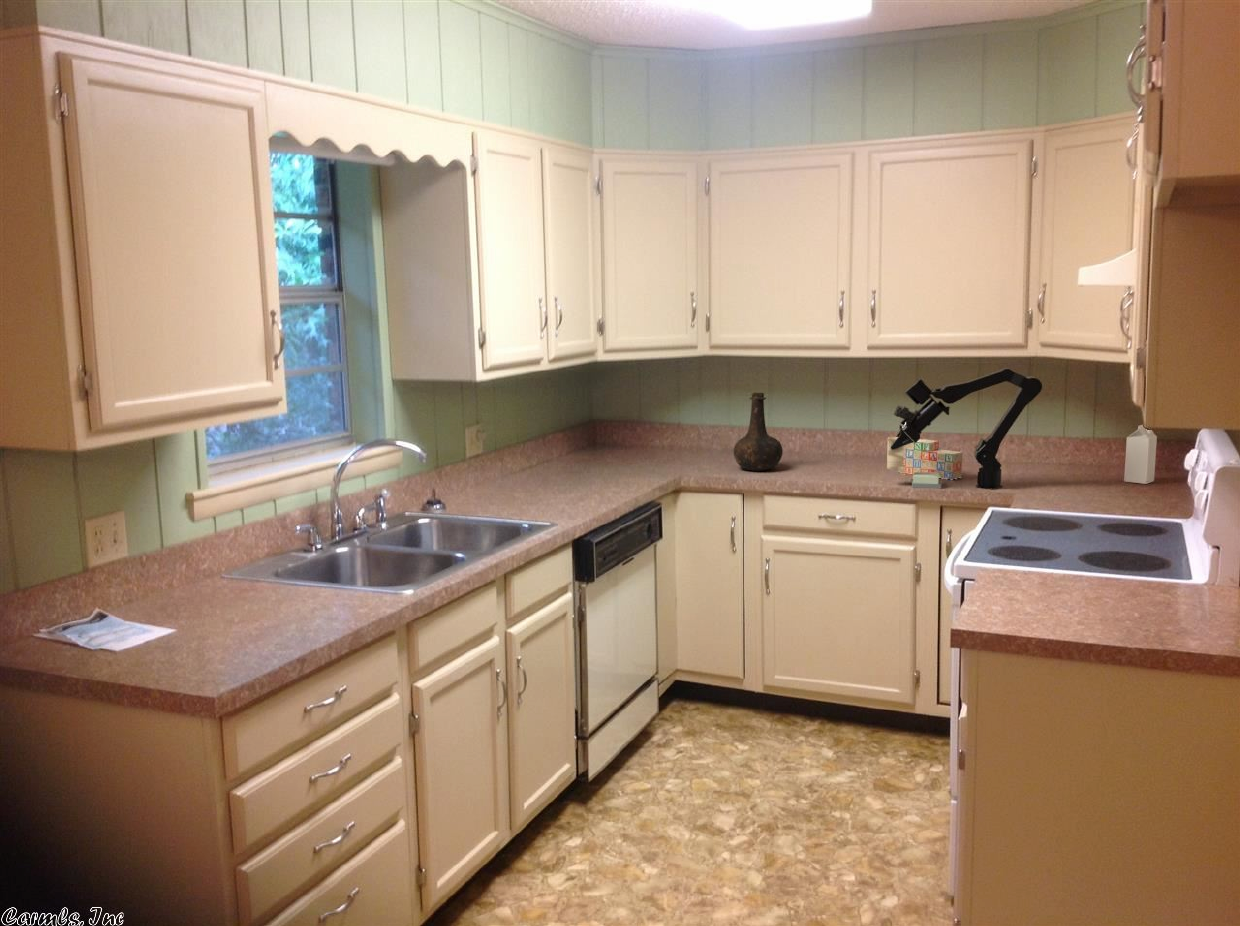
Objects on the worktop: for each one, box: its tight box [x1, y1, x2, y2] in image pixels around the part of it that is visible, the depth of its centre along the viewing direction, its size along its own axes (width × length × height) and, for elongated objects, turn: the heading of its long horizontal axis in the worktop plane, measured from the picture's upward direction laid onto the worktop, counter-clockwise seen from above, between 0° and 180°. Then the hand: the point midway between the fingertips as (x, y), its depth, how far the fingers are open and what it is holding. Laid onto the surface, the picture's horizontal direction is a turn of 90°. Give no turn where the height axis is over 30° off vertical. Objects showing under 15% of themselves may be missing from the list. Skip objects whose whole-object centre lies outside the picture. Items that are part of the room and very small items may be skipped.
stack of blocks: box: [897, 438, 963, 479], centre depth 373 cm, size 21×6×12 cm, turn 43°
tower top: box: [912, 472, 940, 484], centre depth 356 cm, size 8×8×2 cm
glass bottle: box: [733, 392, 784, 472], centre depth 391 cm, size 18×18×28 cm
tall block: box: [886, 436, 904, 470], centre depth 357 cm, size 5×5×10 cm
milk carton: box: [1123, 424, 1158, 485], centre depth 356 cm, size 7×7×19 cm
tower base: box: [910, 478, 942, 490], centre depth 357 cm, size 9×9×2 cm
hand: (891, 447), depth 357 cm, fingers closed on tall block, 5 cm apart
